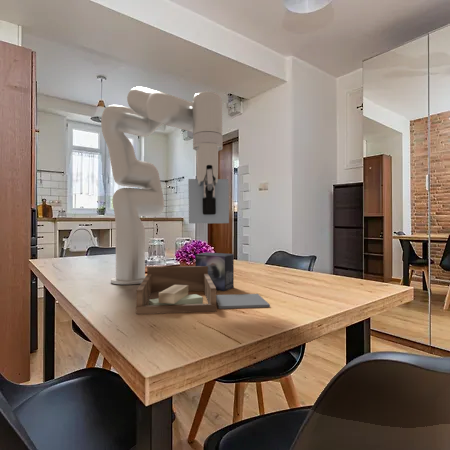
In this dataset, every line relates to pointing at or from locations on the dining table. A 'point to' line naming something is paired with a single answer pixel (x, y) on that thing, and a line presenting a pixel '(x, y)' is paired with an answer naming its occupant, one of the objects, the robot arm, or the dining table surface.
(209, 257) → the small box
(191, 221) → the block
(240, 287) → the dining table surface
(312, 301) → the dining table surface
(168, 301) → the offcut upper
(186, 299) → the offcut lower
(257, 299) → the pad
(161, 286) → the brown wooden tray
